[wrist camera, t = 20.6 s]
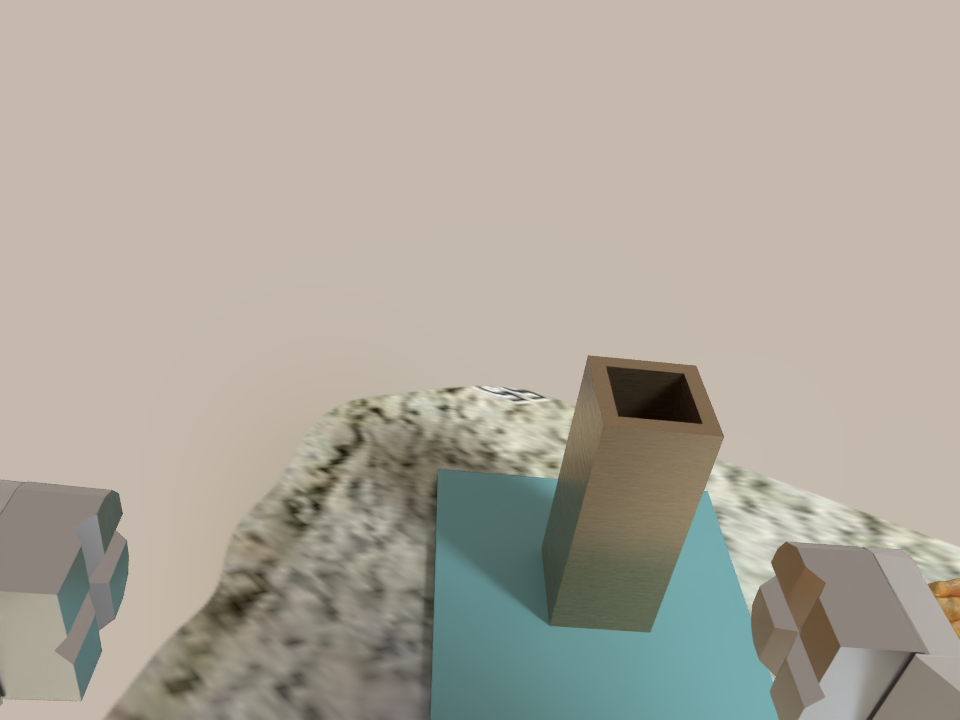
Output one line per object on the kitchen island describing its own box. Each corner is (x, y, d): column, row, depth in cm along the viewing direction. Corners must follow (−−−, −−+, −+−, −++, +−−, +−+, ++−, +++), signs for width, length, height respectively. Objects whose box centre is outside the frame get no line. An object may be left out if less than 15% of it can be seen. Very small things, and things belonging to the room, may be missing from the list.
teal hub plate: (705, 497, 57) (725, 443, 55) (790, 752, 43) (824, 694, 40) (437, 476, 56) (445, 418, 53) (429, 732, 41) (439, 671, 38)
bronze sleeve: (633, 555, 51) (696, 365, 43) (650, 632, 47) (724, 436, 39) (541, 548, 51) (587, 355, 43) (549, 626, 46) (603, 426, 38)
